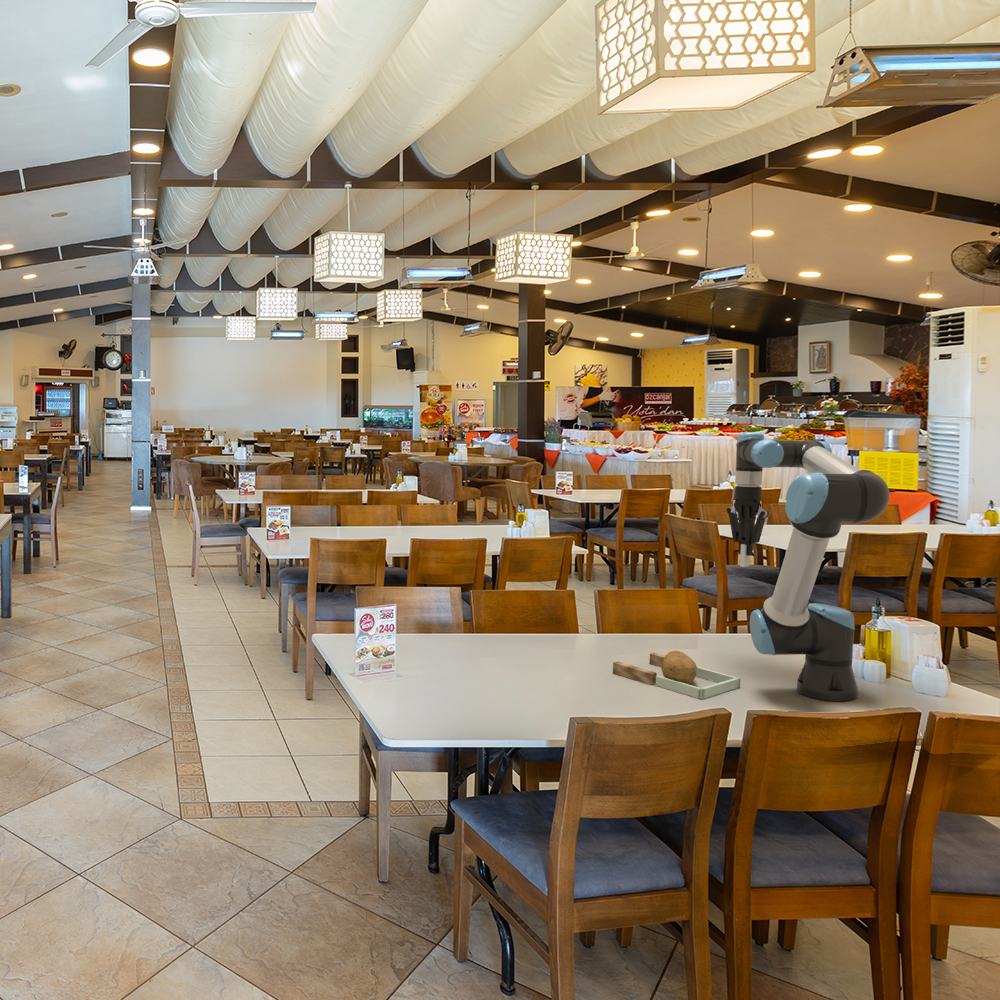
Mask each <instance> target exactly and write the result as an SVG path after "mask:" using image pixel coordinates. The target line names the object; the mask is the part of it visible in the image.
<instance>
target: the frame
mask: <svg viewBox="0 0 1000 1000" xmlns="http://www.w3.org/2000/svg"><path fill="white" fill-rule="evenodd" d="M696 677H697V678H701V679H704V680H708V681H712V682H716V683H714V684H710V685H707V686H704V687H698V686H694V685H691V684H685V683H682V682H678V681H675V680H671V679H668V678H665V677H664V676H661V675H657V676H656V684H655V686H656V687H660V688H662V689H663V688H664V689H667V690H669V691H672V692H676V693H679V694H683V695H686V696H689V697H692V698H696V699H699V700H705V699H707V698H711V697H714V696H716V695H717V696H718V695H720V694H723V693H727V692H729V691H733V690H736V689H739V687H740V688H741V677H738V676H733V675H730V674H726V673H723V672H719V671H716V670H712V669H707V668H704V667H701V666H700V667H699V666H697V673H696Z"/></svg>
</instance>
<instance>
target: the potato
mask: <svg viewBox="0 0 1000 1000" xmlns="http://www.w3.org/2000/svg"><path fill="white" fill-rule="evenodd" d="M697 667H698V666H697V664H696V662H695V661H694V660H693V658H691V657H690V656H689V655H688V654H686V653H685V652H683V651H680V650H672V651H669V652H667V653H666V655H665V658H664V660H663V663H662V667H660V668H661V669H660V670H661V672H662V677H665V678H668V679H671V680H675V681H678V682H682V683H685V684H688V685H690V684H691V683H692V682H693V681H694V680H695V678H696V677H697V676H696V673H697Z"/></svg>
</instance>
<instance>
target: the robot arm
mask: <svg viewBox="0 0 1000 1000" xmlns="http://www.w3.org/2000/svg"><path fill="white" fill-rule="evenodd" d="M735 447H736V448H735V449H736V452H735V454H736V455H735V477H734V478H735V479H734V484H735V485H736V486H735V487H734V498H735V500H734V502H733V505H732V506H730V507H727V508H726V513H727V514H728V518H729V522H730V529H731V536H732V540H733V541H734V542H737V543H738V555H740V557H739V558H740V559H739V560H740V561H739V562H740V563H739V567H741V568H746V567H750V566H751V565H750V563H751V556H753V551H754V549H753V548H754V544H756V543H760V540H761V537H762V533H763V528H764V526H765V522H766V518H767V517H768V516H769V515H770V512H769V511H768V510H765V509H764V508H762V503H761V500H762V493H763V492H762V490H763V488H762V484H763V470H764V469H770V468H771V469H772V468H796V469H797V468H802V469H804V470H806V471H807V472H809V473H802V474H799V475H798V476H796V477H795V478H794V479H792V481H791V483H790V484H789V486H788V488H787V492H786V494H785V499H784V500H785V501H786V502H785V503H784V508H785V513H786V516H787V518H788V519H789V523H790V524H791V526H792V527H793V529H792V532H791V536H790V539H789V542H788V546H787V548H786V552H785V555H784V558H783V561H782V564H781V568H780V571H779V574H778V578H777V581H776V584H775V588H774V591H773V594H772V595H771V596H770V597H768V598H766V599H765V600H764V602H763V606H762V609H758V608H756V609H754V610H753V611H752V612H751V613H750V617H749V630H750V636H751V640H752V643H753V646H754V648H755V649H756V651H757V652H758V653H760V654H761V655H767V656H768V655H769V656H779V655H780V656H781V655H782V656H783V655H784V656H785V655H787V656H791V655H799V656H800V655H805V657H804V660H805V661H804V664H803V667H802V669H801V670H800V674H799V676H798V678H797V680H796V681H797V682H796V691H797V692H798V693H800V694H801V695H803V696H806V697H809V698H813V699H816V700H821V701H828V702H830V701H831V702H848V701H853V700H856V699H857V698H858V695H859V687H858V684H857V681H856V677H855V673H854V670H853V654H854V653H853V652H854V651H853V650H854V639H855V636H854V635H855V630H856V628H855V616H854V614H853V612H852V611H850V610H848V609H845V608H842V607H839V606H834V605H829V604H824V603H817V602H816V603H815V602H813V603H809V600H810V598H811V594H812V592H813V588H814V586H815V583H816V580H817V577H818V574H819V571H820V568H821V565H822V562H823V560H824V556H825V554H826V551H827V548H828V545H829V541H830V539H832V538H835V537H837V536H838V535H839V533H840V531H841V528H842V525H843V524H863V523H866V522H871V521H874V519H876V518H878V517H880V515H882V514H883V513H884V511H885V510H886V509H887V506H889V502H890V489H889V486H888V484H887V482H886V481H885V480H884V478H882V477H881V476H880V475H878V474H876V473H875V472H873V471H871V470H868V469H859V468H858V467H856V466H854V465H853V464H851V463H849V462H848V461H846V460H844V459H843V458H841V457H840V456H838V455H836V454H835V453H833V452H832V450H833V449H832V447H831V446H830V443H828V442H827V441H824V440H823V441H822V440H790V439H789V440H788V439H787V440H785V439H783V440H782V439H765V435H764V434H763V433H762V432H748V431H747V432H745V431H744V432H743V431H741V432H739V433H738V434H737V439H736V443H735ZM808 603H809V604H808Z"/></svg>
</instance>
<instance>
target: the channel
mask: <svg viewBox="0 0 1000 1000" xmlns="http://www.w3.org/2000/svg"><path fill="white" fill-rule="evenodd" d="M665 656H666V655H664V654H661V653H657V652H651V653H649V665H652V666H656V667H660V668H662V663H663V660H664V658H665ZM612 673H613V674H615V675H619V676H621V677H625V678H628V679H631V680H633V681H638V682H641V683H644V684H647V685H651V686H652V685H656V676H658V674H657V672H656V671H652V670H649V669H645V668H641V667H638V666H635V665H631V664H628V663H625V662H622V661H615V662H613V663H612Z"/></svg>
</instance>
